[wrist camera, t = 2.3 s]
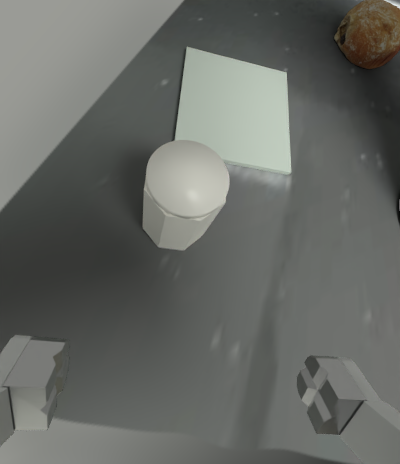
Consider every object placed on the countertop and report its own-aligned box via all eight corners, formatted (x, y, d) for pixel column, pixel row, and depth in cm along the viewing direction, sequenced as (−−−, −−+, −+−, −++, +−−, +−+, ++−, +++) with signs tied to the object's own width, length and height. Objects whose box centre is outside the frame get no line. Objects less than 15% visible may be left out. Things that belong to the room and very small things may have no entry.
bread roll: (321, 45, 48) (331, -3, 41) (382, 23, 47) (405, -31, 39) (340, 89, 45) (356, 47, 38) (406, 67, 44) (436, 18, 36)
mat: (284, 76, 38) (286, 72, 37) (288, 175, 33) (291, 172, 32) (186, 51, 36) (186, 46, 35) (172, 153, 30) (173, 149, 30)
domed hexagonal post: (204, 199, 29) (231, 148, 21) (200, 252, 27) (227, 220, 19) (148, 189, 28) (152, 132, 20) (139, 244, 26) (140, 207, 18)
